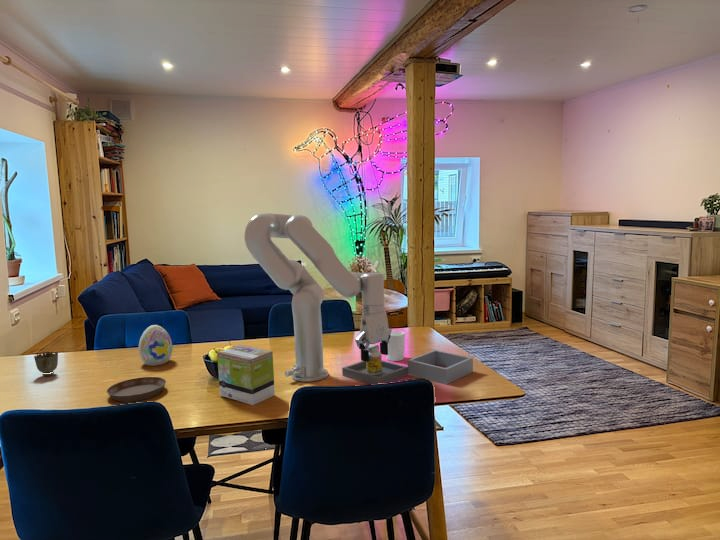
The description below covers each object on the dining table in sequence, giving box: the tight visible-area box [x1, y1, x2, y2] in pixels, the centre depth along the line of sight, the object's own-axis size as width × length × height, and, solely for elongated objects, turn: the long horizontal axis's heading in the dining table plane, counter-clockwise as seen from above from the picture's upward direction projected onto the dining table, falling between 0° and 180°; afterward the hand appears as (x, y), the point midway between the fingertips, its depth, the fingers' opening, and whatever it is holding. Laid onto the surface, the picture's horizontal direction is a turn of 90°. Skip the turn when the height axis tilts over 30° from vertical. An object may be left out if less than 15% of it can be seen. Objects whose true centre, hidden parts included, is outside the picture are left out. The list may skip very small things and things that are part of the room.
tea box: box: [216, 344, 275, 406], centre depth 159 cm, size 15×10×15 cm, turn 56°
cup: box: [33, 351, 59, 377], centre depth 186 cm, size 8×7×8 cm
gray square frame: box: [407, 349, 474, 385], centre depth 176 cm, size 16×16×5 cm
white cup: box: [385, 330, 406, 362], centre depth 193 cm, size 8×8×10 cm
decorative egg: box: [138, 324, 174, 367], centre depth 197 cm, size 12×12×15 cm
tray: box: [341, 360, 409, 385], centre depth 175 cm, size 15×17×3 cm
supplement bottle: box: [366, 344, 382, 375], centre depth 175 cm, size 5×5×10 cm
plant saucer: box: [106, 376, 167, 403], centre depth 165 cm, size 18×18×3 cm
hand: (374, 357), depth 175 cm, fingers open, 9 cm apart
